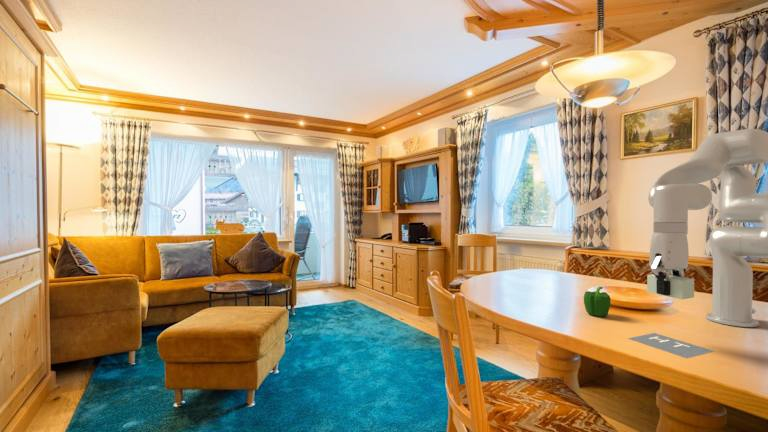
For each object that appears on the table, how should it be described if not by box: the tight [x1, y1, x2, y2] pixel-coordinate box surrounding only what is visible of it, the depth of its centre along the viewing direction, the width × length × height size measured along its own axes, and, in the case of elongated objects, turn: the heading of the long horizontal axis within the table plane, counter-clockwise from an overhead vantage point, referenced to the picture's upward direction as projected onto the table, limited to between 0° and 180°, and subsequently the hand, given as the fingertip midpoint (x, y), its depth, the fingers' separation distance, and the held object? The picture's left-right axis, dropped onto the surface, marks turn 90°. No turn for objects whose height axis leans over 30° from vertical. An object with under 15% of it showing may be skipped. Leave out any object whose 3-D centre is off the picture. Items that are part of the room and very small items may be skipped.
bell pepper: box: [583, 285, 612, 318], centre depth 127 cm, size 8×8×10 cm
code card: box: [627, 332, 715, 359], centre depth 100 cm, size 12×15×1 cm
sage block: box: [646, 273, 695, 300], centre depth 101 cm, size 5×9×5 cm, turn 21°
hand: (669, 292), depth 101 cm, fingers closed on sage block, 5 cm apart
